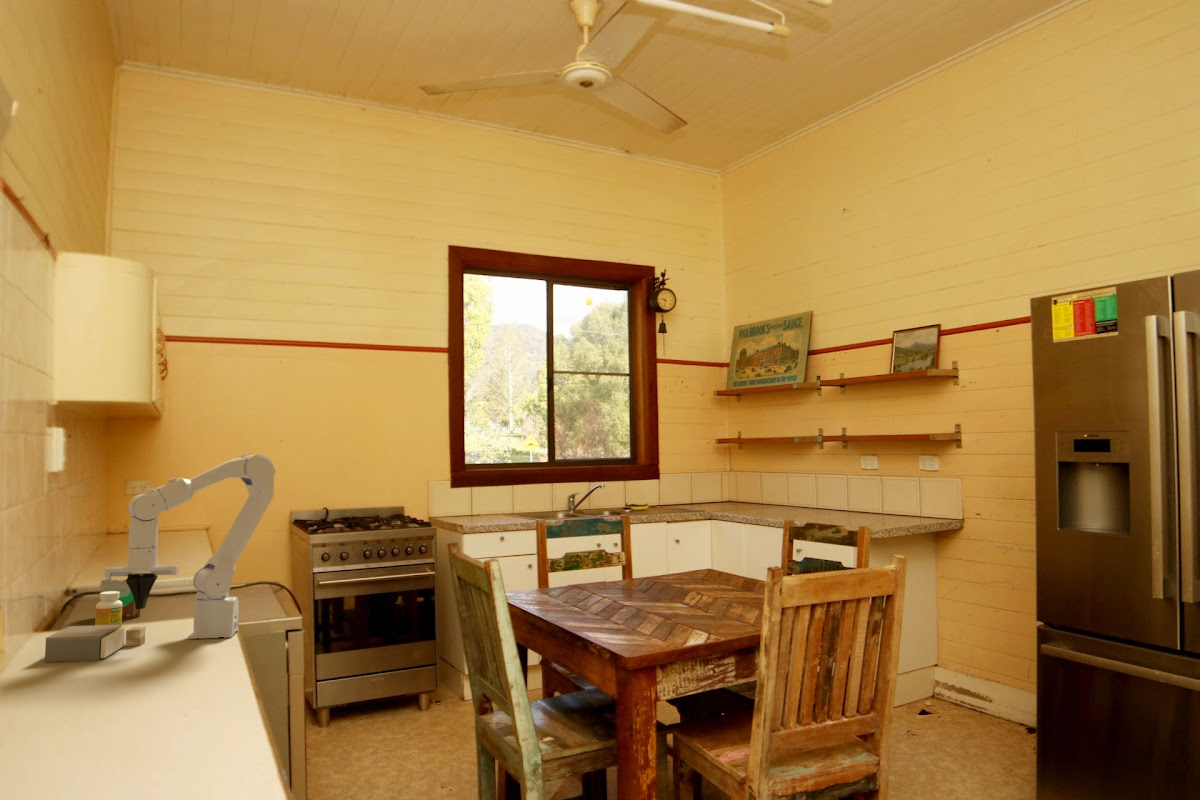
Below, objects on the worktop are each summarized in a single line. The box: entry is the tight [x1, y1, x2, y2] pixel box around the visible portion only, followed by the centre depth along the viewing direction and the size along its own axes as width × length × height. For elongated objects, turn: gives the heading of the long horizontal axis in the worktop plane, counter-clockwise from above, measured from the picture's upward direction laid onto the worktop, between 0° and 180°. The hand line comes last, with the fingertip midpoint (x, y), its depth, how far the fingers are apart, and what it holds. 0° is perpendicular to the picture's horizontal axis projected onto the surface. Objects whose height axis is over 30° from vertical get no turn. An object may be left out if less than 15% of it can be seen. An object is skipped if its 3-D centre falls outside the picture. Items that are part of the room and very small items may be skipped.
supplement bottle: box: [94, 591, 123, 628], centre depth 189 cm, size 5×5×10 cm
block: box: [124, 626, 147, 647], centre depth 178 cm, size 3×3×4 cm
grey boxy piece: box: [44, 624, 120, 663], centre depth 169 cm, size 10×11×5 cm
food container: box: [99, 577, 141, 621], centre depth 206 cm, size 12×6×10 cm, turn 73°
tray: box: [101, 626, 126, 659], centre depth 169 cm, size 10×11×4 cm
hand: (140, 608), depth 179 cm, fingers closed
